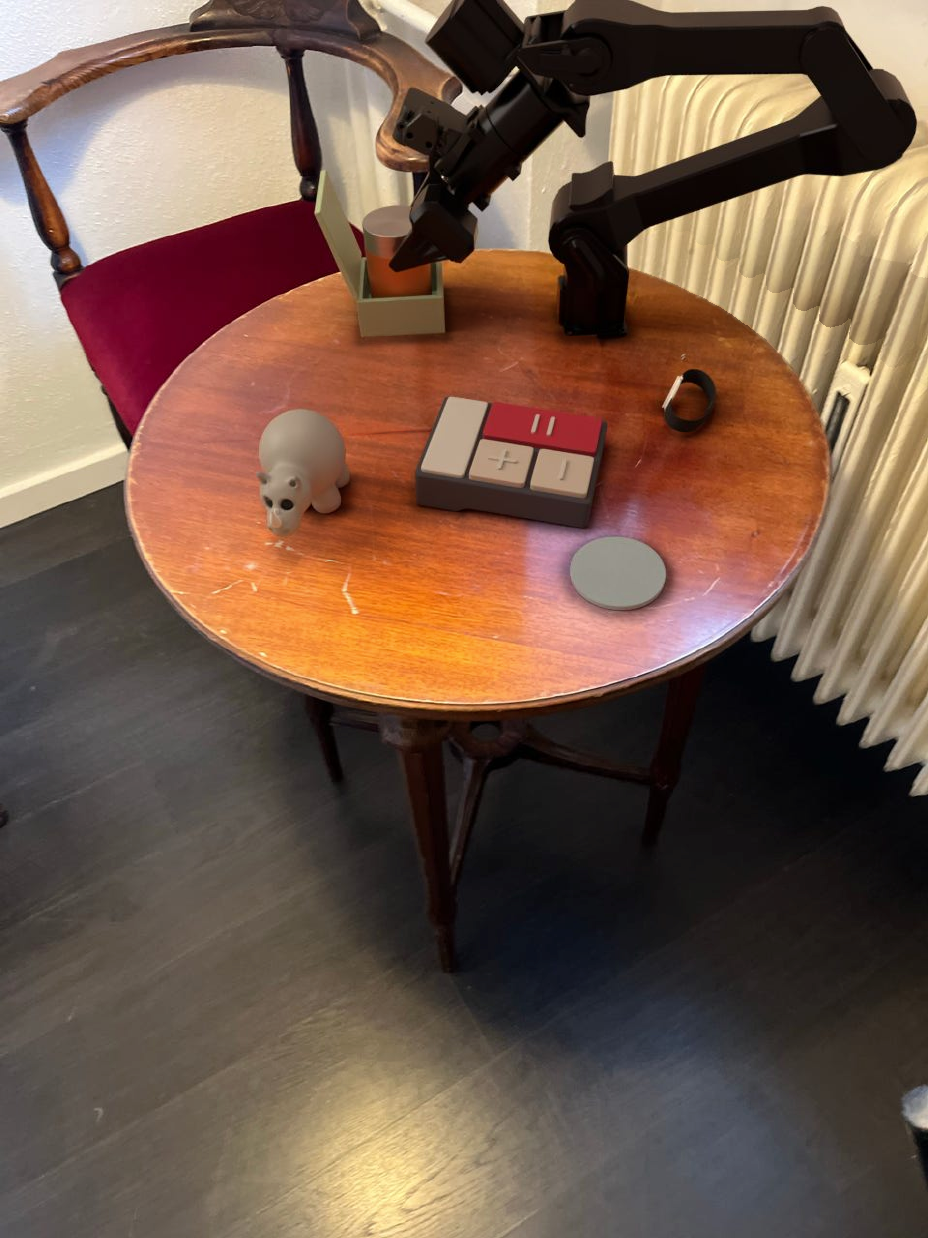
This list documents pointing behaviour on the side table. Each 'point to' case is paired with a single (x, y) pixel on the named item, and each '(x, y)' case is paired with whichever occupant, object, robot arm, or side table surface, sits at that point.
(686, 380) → the watch
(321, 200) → the box lid
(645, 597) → the coaster
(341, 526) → the side table surface
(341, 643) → the side table surface
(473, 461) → the button control panel
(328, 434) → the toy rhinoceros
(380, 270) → the can
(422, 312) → the box
